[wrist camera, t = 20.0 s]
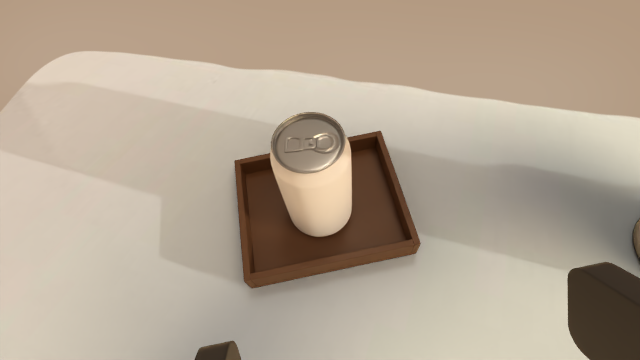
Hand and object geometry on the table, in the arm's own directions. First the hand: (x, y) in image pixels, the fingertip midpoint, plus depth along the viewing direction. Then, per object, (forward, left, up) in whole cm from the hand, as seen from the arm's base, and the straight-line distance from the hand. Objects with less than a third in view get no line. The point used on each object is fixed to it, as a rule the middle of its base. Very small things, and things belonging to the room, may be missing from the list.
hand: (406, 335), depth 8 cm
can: (+1, -15, -24) cm, 29 cm away
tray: (+1, -15, -25) cm, 29 cm away
